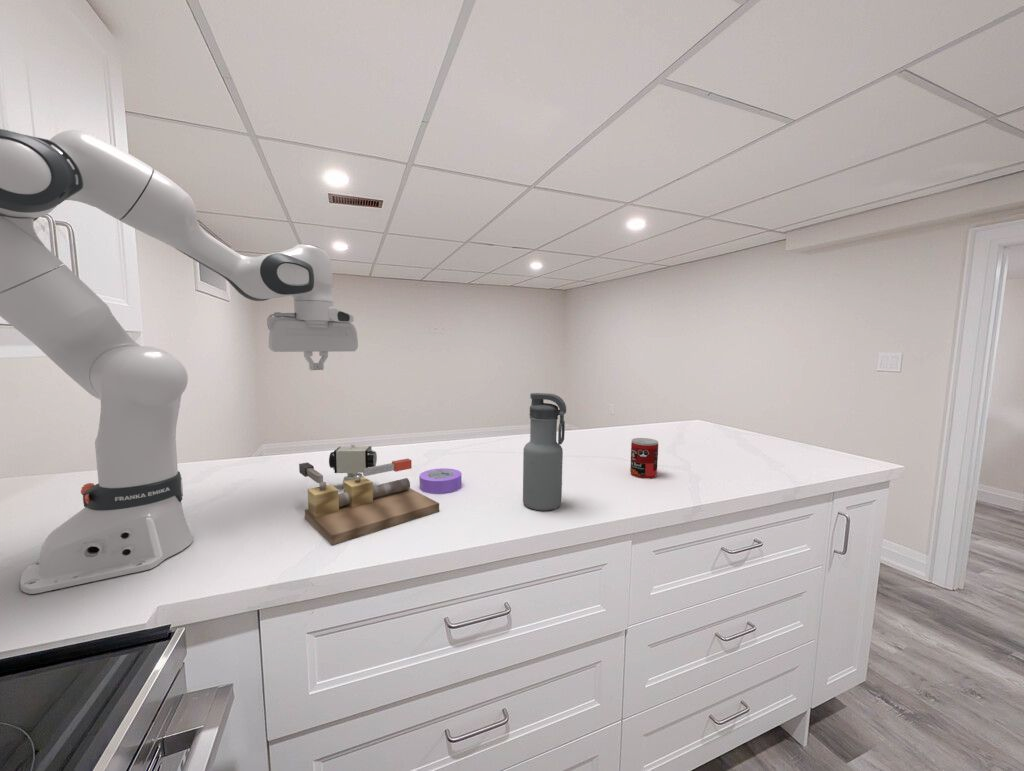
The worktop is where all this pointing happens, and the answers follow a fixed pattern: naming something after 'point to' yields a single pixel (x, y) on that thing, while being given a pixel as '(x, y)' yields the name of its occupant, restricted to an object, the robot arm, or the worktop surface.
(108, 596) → the worktop surface
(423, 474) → the masking tape
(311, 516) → the pipe board
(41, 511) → the worktop surface
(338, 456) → the pneumatic valve
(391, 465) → the red lever
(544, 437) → the water bottle
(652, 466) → the canned food
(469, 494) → the worktop surface
